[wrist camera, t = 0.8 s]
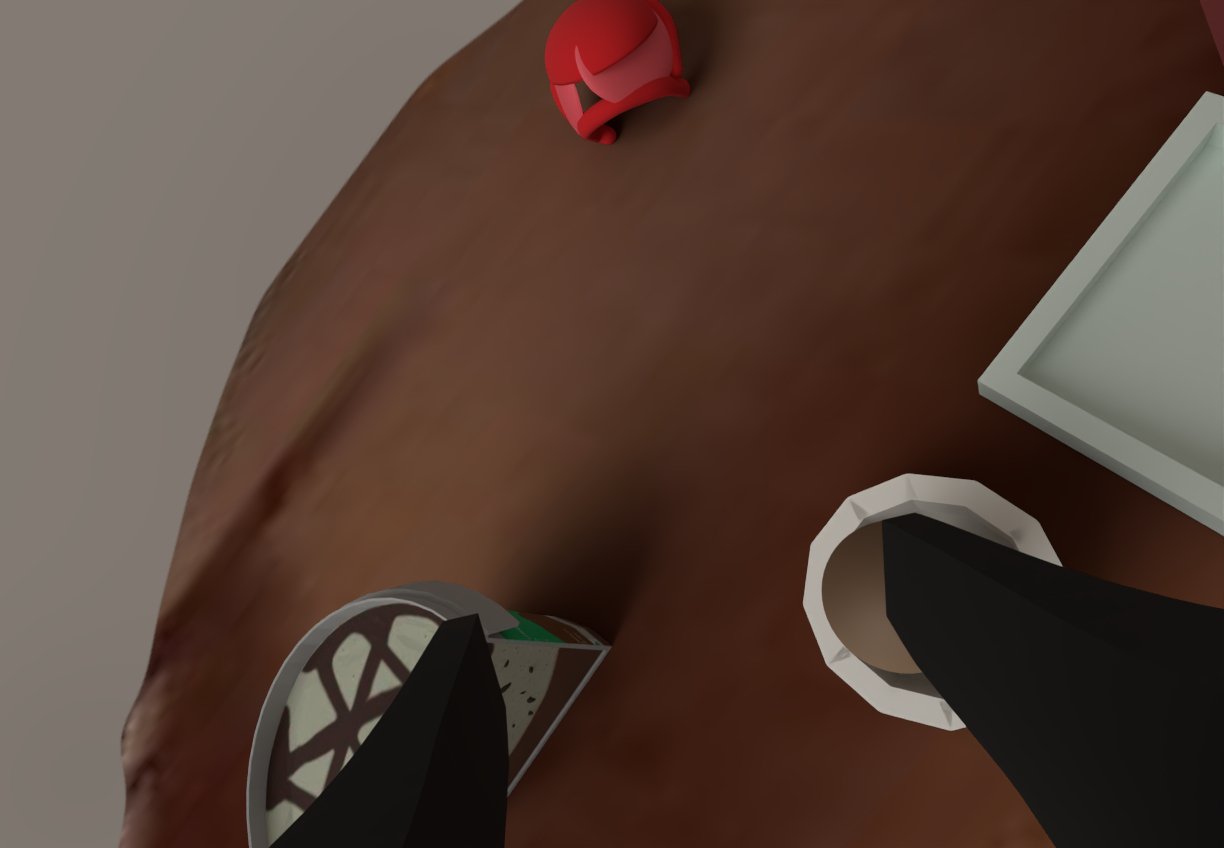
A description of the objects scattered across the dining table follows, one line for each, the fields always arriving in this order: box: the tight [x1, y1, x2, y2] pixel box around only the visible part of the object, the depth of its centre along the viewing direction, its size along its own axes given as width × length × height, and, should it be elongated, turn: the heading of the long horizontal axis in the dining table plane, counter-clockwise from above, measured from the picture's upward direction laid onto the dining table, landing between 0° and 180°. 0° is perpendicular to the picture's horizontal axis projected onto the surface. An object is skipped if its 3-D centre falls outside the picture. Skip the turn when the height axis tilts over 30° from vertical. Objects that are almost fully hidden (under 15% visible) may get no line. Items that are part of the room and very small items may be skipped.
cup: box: [803, 473, 1063, 731], centre depth 23 cm, size 7×7×4 cm
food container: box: [247, 581, 612, 848], centre depth 27 cm, size 12×6×10 cm, turn 141°
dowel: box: [821, 521, 922, 674], centre depth 20 cm, size 3×3×10 cm
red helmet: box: [545, 0, 690, 145], centre depth 33 cm, size 8×6×6 cm
